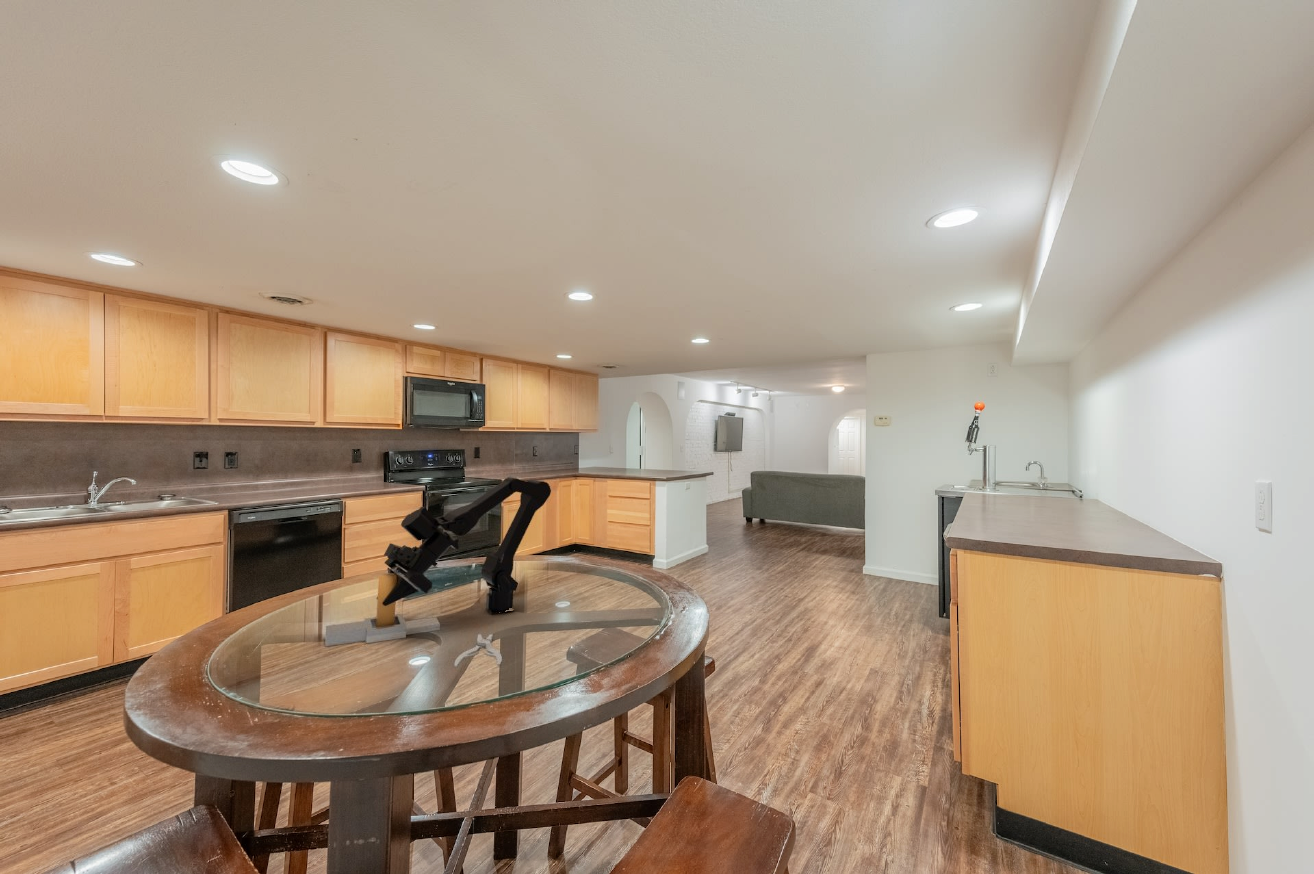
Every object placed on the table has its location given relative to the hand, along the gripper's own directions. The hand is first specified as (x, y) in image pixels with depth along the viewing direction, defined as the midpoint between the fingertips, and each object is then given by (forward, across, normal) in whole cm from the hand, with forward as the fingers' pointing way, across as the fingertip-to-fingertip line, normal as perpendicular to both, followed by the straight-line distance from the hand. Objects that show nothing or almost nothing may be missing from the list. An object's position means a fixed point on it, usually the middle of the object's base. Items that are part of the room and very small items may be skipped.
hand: (380, 602), depth 125 cm
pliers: (-5, +23, +17) cm, 29 cm away
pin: (+4, 0, +6) cm, 7 cm away
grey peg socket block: (+5, 0, +7) cm, 8 cm away
